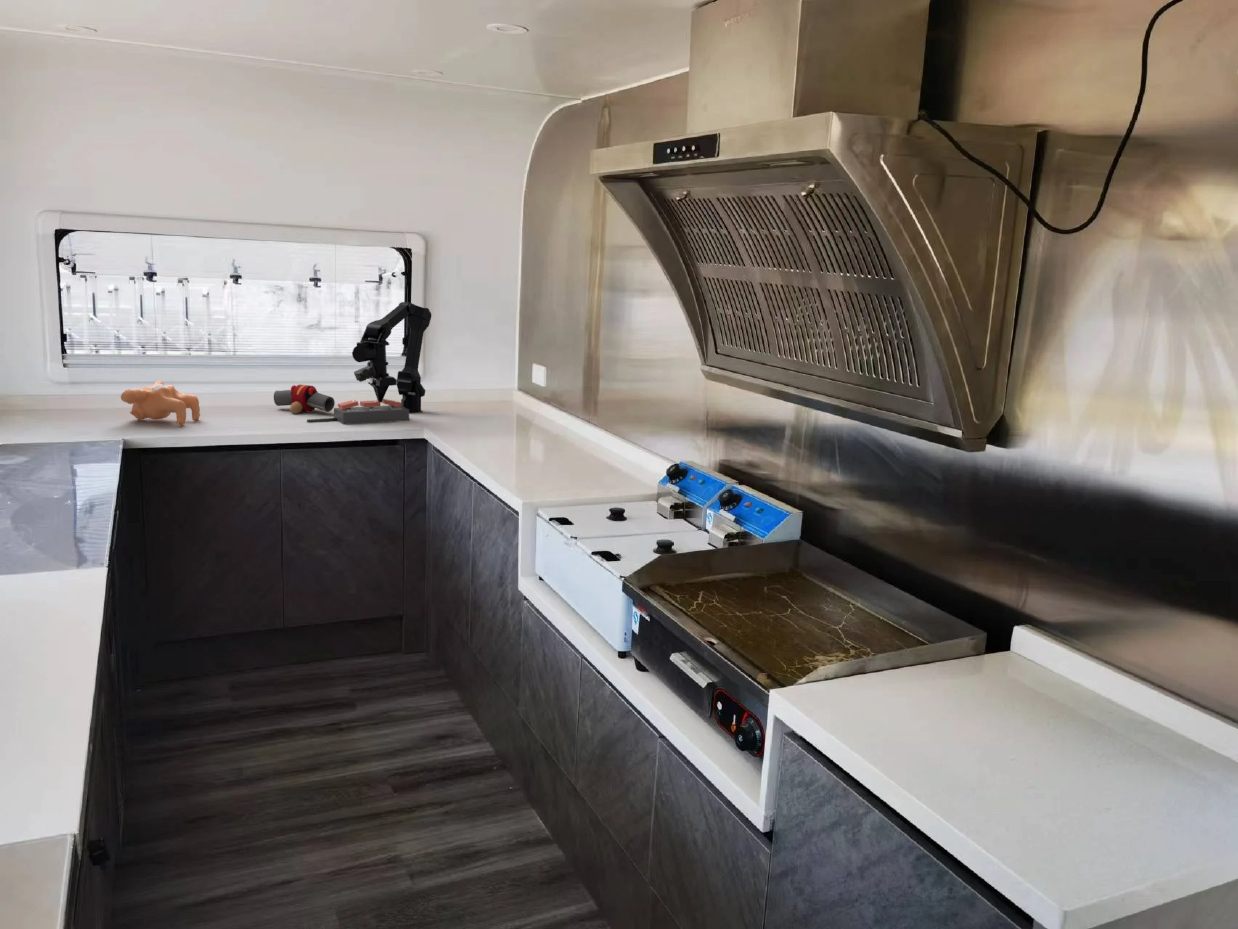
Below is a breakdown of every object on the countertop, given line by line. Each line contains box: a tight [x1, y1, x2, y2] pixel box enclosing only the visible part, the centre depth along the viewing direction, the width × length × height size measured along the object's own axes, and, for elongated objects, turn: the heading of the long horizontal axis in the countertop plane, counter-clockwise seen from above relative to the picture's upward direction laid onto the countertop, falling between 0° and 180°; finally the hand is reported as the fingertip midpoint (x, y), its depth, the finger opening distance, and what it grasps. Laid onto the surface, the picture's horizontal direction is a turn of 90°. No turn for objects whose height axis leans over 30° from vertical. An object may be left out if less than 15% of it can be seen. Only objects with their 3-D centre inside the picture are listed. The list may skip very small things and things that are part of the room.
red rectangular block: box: [381, 398, 402, 407], centre depth 349 cm, size 6×4×2 cm, turn 125°
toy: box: [273, 384, 336, 415], centre depth 352 cm, size 23×10×15 cm
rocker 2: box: [359, 399, 381, 407], centre depth 344 cm, size 6×4×2 cm, turn 124°
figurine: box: [120, 380, 201, 427], centre depth 319 cm, size 14×25×20 cm
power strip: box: [306, 405, 410, 425], centre depth 341 cm, size 34×10×5 cm, turn 124°
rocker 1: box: [337, 399, 360, 410], centre depth 340 cm, size 6×4×2 cm, turn 124°
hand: (379, 402), depth 346 cm, fingers closed, pressing on rocker 2
